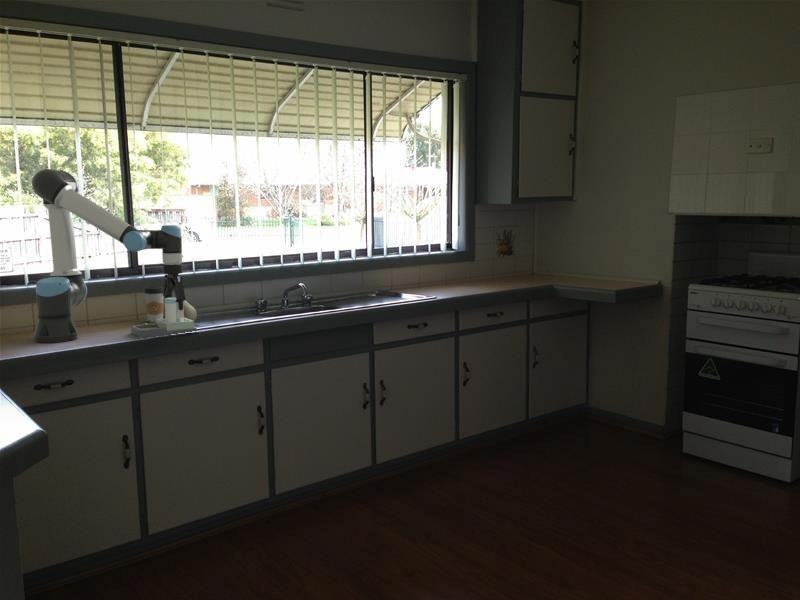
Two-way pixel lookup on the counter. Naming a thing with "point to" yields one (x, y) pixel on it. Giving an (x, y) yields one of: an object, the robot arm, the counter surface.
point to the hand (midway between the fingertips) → (174, 315)
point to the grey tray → (163, 328)
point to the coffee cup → (154, 303)
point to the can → (171, 311)
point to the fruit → (189, 311)
